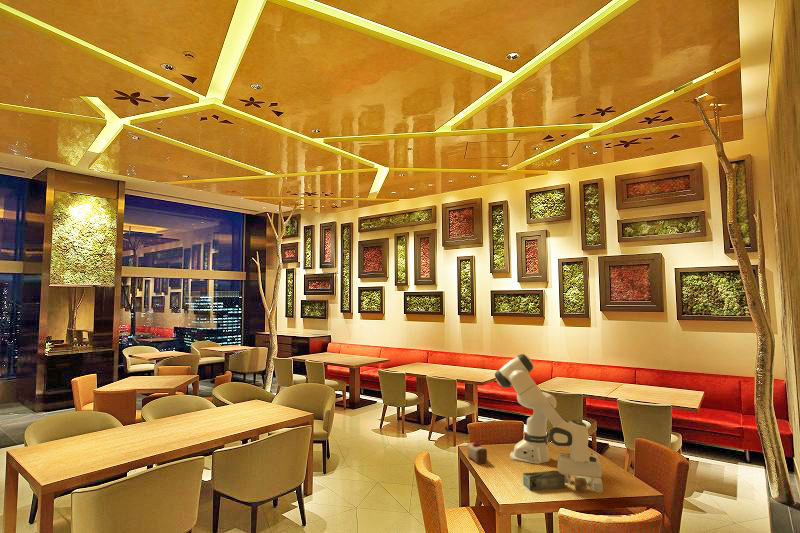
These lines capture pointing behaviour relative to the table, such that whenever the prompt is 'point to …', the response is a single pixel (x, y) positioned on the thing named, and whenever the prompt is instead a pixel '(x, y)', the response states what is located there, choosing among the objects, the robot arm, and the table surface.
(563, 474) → the brown egg
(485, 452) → the grey canister red cap
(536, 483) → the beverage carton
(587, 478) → the green tile
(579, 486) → the walnut cube
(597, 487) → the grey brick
